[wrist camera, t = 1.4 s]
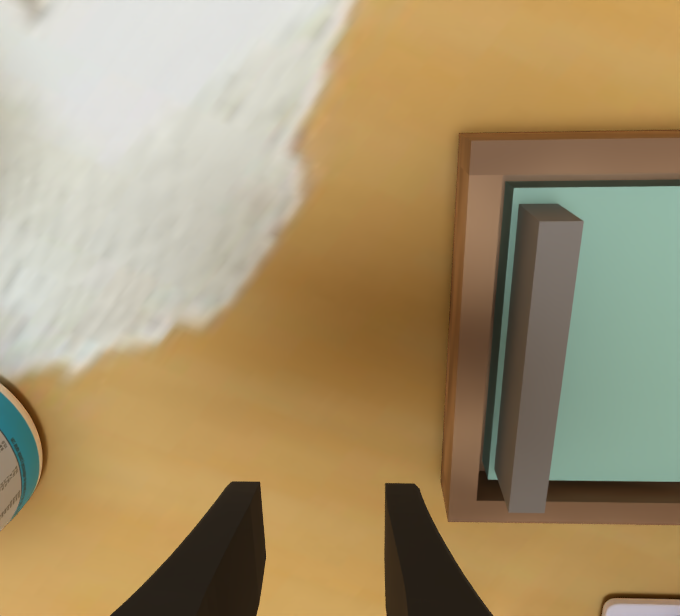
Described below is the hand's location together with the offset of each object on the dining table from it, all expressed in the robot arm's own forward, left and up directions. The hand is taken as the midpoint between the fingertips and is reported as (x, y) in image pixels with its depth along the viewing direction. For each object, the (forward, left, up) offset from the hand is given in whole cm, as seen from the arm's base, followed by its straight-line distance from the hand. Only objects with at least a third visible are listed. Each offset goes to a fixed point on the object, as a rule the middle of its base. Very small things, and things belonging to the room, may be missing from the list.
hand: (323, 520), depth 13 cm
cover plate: (0, -12, -10) cm, 15 cm away
